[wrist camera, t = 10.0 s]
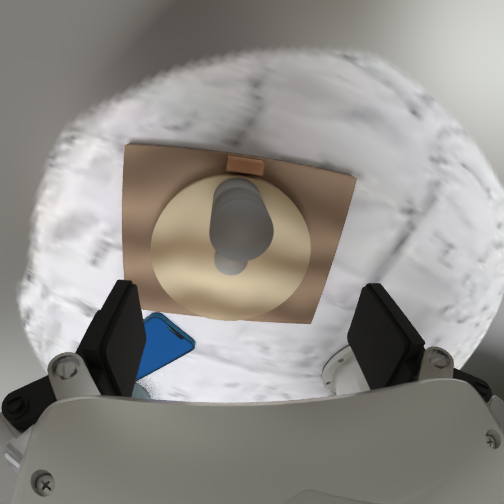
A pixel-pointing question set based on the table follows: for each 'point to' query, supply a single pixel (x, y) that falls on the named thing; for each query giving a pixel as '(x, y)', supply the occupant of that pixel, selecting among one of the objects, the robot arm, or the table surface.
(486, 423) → the robot arm
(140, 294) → the board
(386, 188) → the table surface
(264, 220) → the dial
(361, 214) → the table surface
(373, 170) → the table surface
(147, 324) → the smartphone
